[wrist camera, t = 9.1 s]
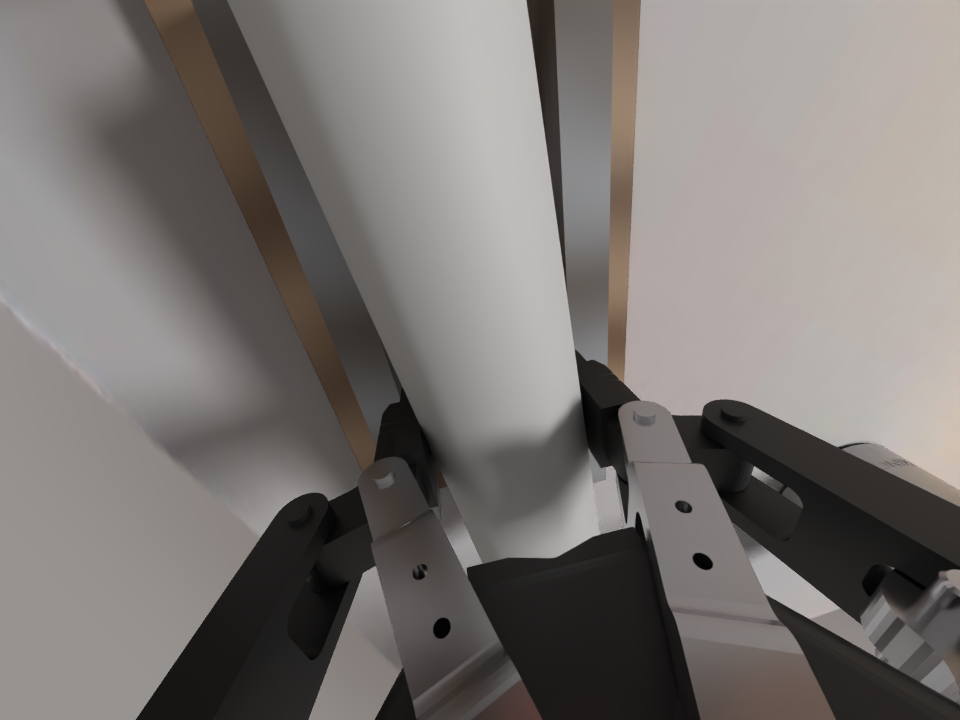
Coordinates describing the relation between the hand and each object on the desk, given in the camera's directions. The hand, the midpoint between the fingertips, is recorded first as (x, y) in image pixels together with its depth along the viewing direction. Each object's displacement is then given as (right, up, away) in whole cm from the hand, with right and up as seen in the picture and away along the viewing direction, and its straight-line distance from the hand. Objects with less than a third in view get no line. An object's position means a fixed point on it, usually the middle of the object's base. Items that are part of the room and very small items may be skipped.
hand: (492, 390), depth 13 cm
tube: (0, 0, +1) cm, 1 cm away
